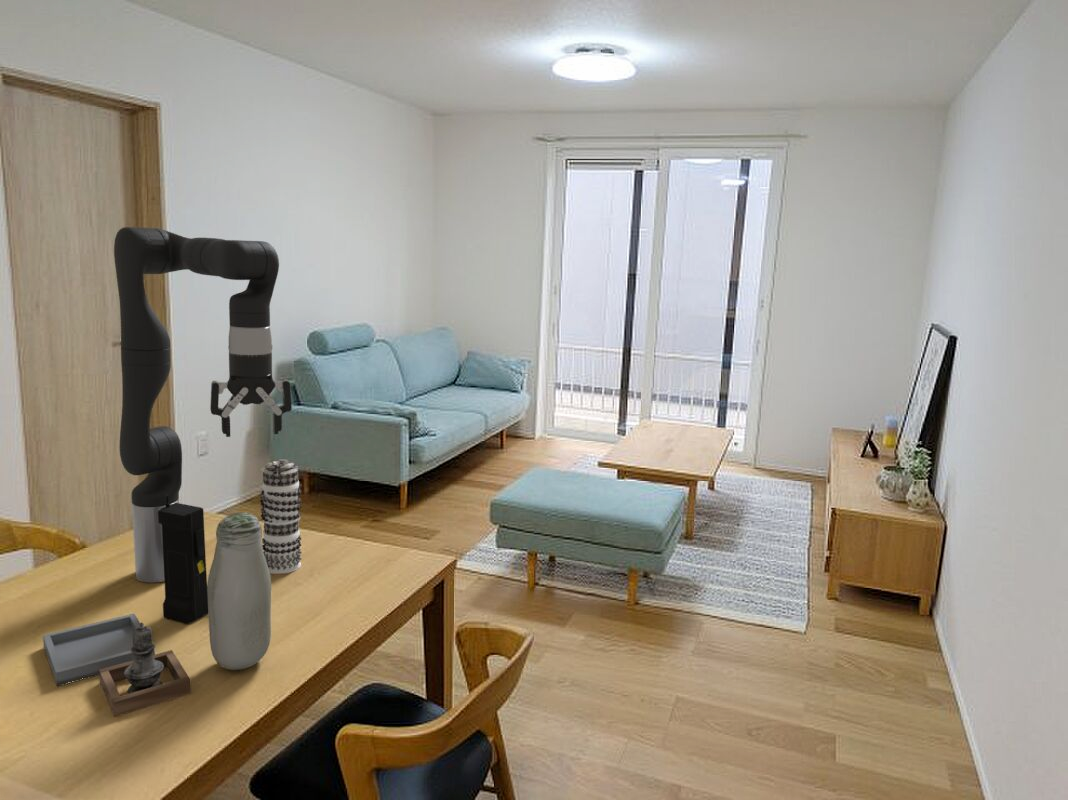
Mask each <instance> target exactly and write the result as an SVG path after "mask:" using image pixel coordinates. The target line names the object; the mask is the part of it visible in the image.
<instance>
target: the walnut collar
mask: <svg viewBox="0 0 1068 800" xmlns="http://www.w3.org/2000/svg"><path fill="white" fill-rule="evenodd" d="M153 656H154V660H158V661H160V662H162V663H163V664H164V668H163V670H164V669H167V670H168V672H169V674H170V675H171V677H172V679H173V680H171V681H168V682H163V684H161V685H157V686H154V687H150V688H147V689H144V690H140V691H137V692H134V693H130V694H128V693H127V694H125V695H120V692H119V691H118V688H117V686H116V684H115V682H116V683H119V682H121V681H122V680H123V681H125V680H127V677H126V676H125V675H124V671H125V670H126V668H127V667H128V666H130V665H132V664H133V661H129V662H126V663H122V664H118V665H114V666H111V667H107V668H103V669H100V670H99V675H98V677H99V684H100V687H101V686H102V687H101V688H102V691H103V693H105V694H104V696H105V698H106V700H107V703H108V705H109V708H110V710H111V712H112V713H113V717H114V718H116V717H118V716H121V714H122V715H125V714H128V712H129V713H131V712H134V711H139V710H140V709H145V708H147V707H151V706H154V705H158V704H160V703H164V702H167V701H170V700H174V699H177V698H180V696H181V697H183V696H186V695H190V694H192V685H191V684H192V683H191V682H192V681H191V678H190V676H189V674H188V673H187V672H186V670H185V668H184V667H183V665H182V664H181V662H180V661H179V659H178V657H177V655H176V654H175V653H174V650H173V649H171V650H166V651H162V652H160V653H156V654H155V655H153ZM118 681H119V682H118ZM115 716H116V717H115Z"/></svg>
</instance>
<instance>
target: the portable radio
mask: <svg viewBox="0 0 1068 800" xmlns="http://www.w3.org/2000/svg"><path fill="white" fill-rule="evenodd" d="M165 496H166V500H167V503H166V507H163V508H161V509H160V510H159V511H158V522H159V523H160V524H162V538H163V559H164V580H165V581H164V601H163V603H162V614H163V618H164V619H166V620H170V621H174V622H176V623H177V622H178V623H181V624H185V625H188V624H191V623H194V622H196V621H197V620H199V619H202V618H203V617H205V616H206V615H208V592H207V583H208V577H207V576H208V575H207V559H206V557H207V556H206V538H205V535H206V534H205V518H204V514H205V512H204V508H203V507H200V506H195V505H189V504H184V503H181V502H179V503H174V504H171V505H170V503H168V496H169V495H165Z"/></svg>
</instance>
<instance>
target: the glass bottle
mask: <svg viewBox="0 0 1068 800" xmlns="http://www.w3.org/2000/svg"><path fill="white" fill-rule="evenodd" d="M215 537H216V543H215V547H214V548H215V549H214V553H213V559H212V563H211V566H210V569H209V574H208V577H207V592H208V614H207V615H208V628H209V629H208V631H209V644H210V651H211V653H212V656H213V659H214V661H215V662H216V663H217V664H218V665H220V666H221V667H223V668H224V669H227V670H230V671H239V670H244V669H247V668H250V667H253V666H254V665H256V664H257V663H259V662H260V661H261V659H263V658H264V656H265V655H266V654H267V651H268V649H269V647H270V644H271V638H272V620H271V617H272V616H271V615H272V613H271V611H272V609H271V608H272V580H271V573H269V569H268V566H267V562H266V559H265V556H264V553H263V551H264V550H263V547H262V545H263V543H262V539H263V528H262V525H261V523H260V520H259V519H258V517H257V516H256V515H254V514H252V513H250V512H238V513H237V512H236V513H232V514H229V515H227V516H224V518H222V519H221V520H220V521H219V522H218V524H217V526H216V532H215Z"/></svg>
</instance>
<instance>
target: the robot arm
mask: <svg viewBox="0 0 1068 800" xmlns="http://www.w3.org/2000/svg"><path fill="white" fill-rule="evenodd" d="M113 255H114V257H113V258H114V265H115V273H116V274H115V275H116V280H117V288H118V289H117V291H118V297H119V299H118V300H119V314H120V315H119V316H120V363H121V365H120V366H121V373H122V374H121V379H122V380H121V381H122V384H121V385H122V386H121V387H122V396H121V397H122V401H121V403H122V407H121V419H120V432H119V457H120V462H121V464H122V465H123V468H124V469H125V471H126V472H127V473H128V474H130V475H132V476H142V475H146V474H147V475H146V477H145V478H144V479H143V480H142V481H141V482H140V483H138V484H137V485H136V486H135V487H134V488H133V489H132V491H131V513H132V514H131V515H132V526H133V529H132V530H133V531H132V532H133V547H134V565H135V577H136V579H137V580H138V581H140V582H143V583H160V582H161V583H162V582H165V580H164V559H163V538H162V524H160V523H159V522H158V511H159V510H160V509H161V508H163V507H166V503H167V500H166V496H165V495H169V496H168V503H170V505H171V504H174V503H180V496H179V495H180V494H179V493H180V491H181V487H182V483H183V482H182V478H183V477H182V476H183V449H182V443H181V439H180V438H179V435H178V434H177V432H176V431H175V430H174V429H173V428H172V427H170V426H168V425H167V426H165V425H161V426H156V427H151V417H152V411H153V408H154V405H155V403H156V400H157V398H159V395H160V393H161V391H162V389H163V388H164V385H165V384H166V382H167V380H168V378H169V375H170V372H171V363H172V361H171V360H172V359H171V358H172V356H171V339H170V335H169V333H168V331H167V329H166V327H165V326H164V325H163V324H164V323H162V322H161V319H160V318H159V317H158V316H157V314H156V312H155V311H154V310H153V308H152V306H151V304H150V302H149V301H148V298H147V295H146V290H145V282H144V277H145V276H144V275H164V274H168V273H173V272H179V271H185V270H188V271H190V272H192V273H194V274H197V275H204V276H211V277H212V276H213V277H219V278H222V279H225V280H231V281H233V280H234V281H248V284H247V287H246V288H245V290H243V291H241V292H238V293H235V294H232V295H231V296H230V297H229V301H228V302H229V303H228V305H229V306H228V310H229V313H228V314H229V315H228V316H229V331H228V368H229V371H228V372H229V373H228V375H229V376H228V380H227V381H226V382H223V381H218V380H213V381H212V382H211V384H210V413H211V415H213V416H219V417H220V418H221V432H222V434H223V435H225V437H226V438H231V417H230V414H231V413H232V412H233V411H234V410H235V409H236V408H237V406H238V405H239V404H242V405H244V406H245V405H246V406H247V405H250V404H254V405H261V404H262V403H265V404H266V405H267V406H268V407H269V408H270V409H271V411H273V412H274V413H272V427H273V428H272V432H273V434H274V435H279V432H281V431H282V430H283V429H282V428H283V427H282V426H283V425H282V424H283V418H282V416H283V414H285V413H288V412H291V411H292V409H293V408H292V396H291V382H290V381H289V380H288V379H287V378H283V379H282V380H274V379H273V343H272V340H273V339H272V331H271V312H270V311H271V309H270V307H271V306H270V305H271V300H272V297H273V293H274V289H275V285H276V282H277V278H278V275H279V274H278V273H279V270H280V269H279V268H280V260H279V255H278V253H277V251H276V249H275V247H274V246H273V245H272V244H271V243H269V242H268V241H262V240H261V241H260V240H241V239H238V240H237V239H225V238H224V239H223V238H215V237H214V238H213V237H192V238H190V237H185V236H182V235H179V234H177V233H174V232H171V231H168V230H165V229H161V228H154V227H151V228H150V227H136V226H133V227H132V226H131V227H130V226H125V227H122V228H120V229H118V231H117V233H116V234H115V238H114V244H113ZM275 387H276V388H277V389H278V391H279V393H282V403H283V404H282V405H278V404H277V403H276V402H275V400H274V399H273V398H272V397H271V393H272V392H273V390H274V389H275ZM226 389H227V390H228V392H229V393H230V394H231V396H230V398H228V400H227V402H226V403H225V405H224V406H223V407H219V398H220V396H219V395H221V394H223V392H224V391H225V390H226Z"/></svg>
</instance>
